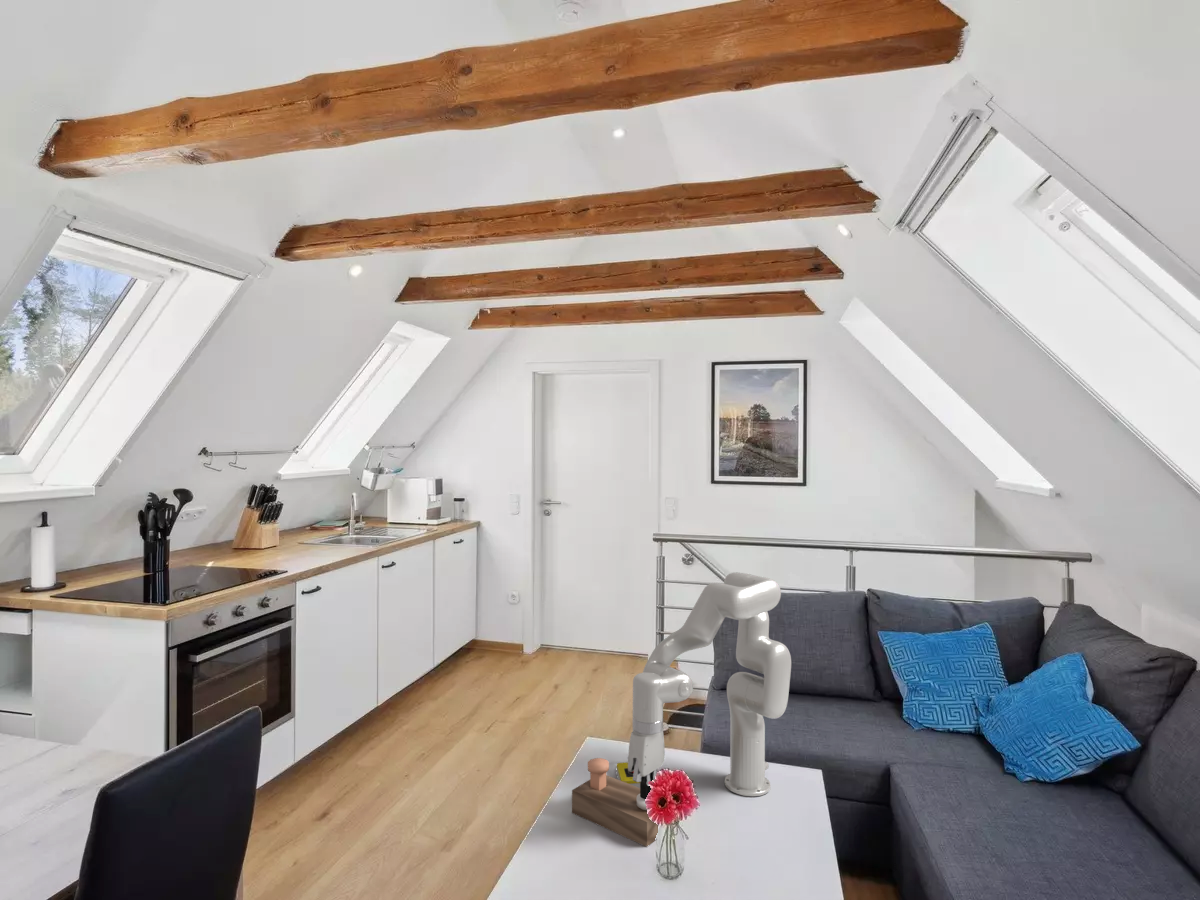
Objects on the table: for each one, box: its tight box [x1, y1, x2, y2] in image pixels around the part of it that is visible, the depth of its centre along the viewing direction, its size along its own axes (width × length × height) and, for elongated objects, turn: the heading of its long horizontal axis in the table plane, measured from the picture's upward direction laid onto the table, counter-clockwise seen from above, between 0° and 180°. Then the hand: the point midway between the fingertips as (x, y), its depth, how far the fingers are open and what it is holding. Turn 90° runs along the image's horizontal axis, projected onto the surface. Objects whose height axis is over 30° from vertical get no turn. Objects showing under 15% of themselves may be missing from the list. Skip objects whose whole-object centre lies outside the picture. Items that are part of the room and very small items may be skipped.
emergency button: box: [615, 761, 640, 788], centre depth 195 cm, size 9×4×15 cm
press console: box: [571, 774, 658, 847], centre depth 174 cm, size 12×24×6 cm, turn 51°
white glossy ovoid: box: [637, 794, 647, 810], centre depth 169 cm, size 6×6×8 cm
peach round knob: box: [587, 757, 610, 791], centre depth 179 cm, size 6×6×8 cm
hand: (647, 798), depth 169 cm, fingers closed
